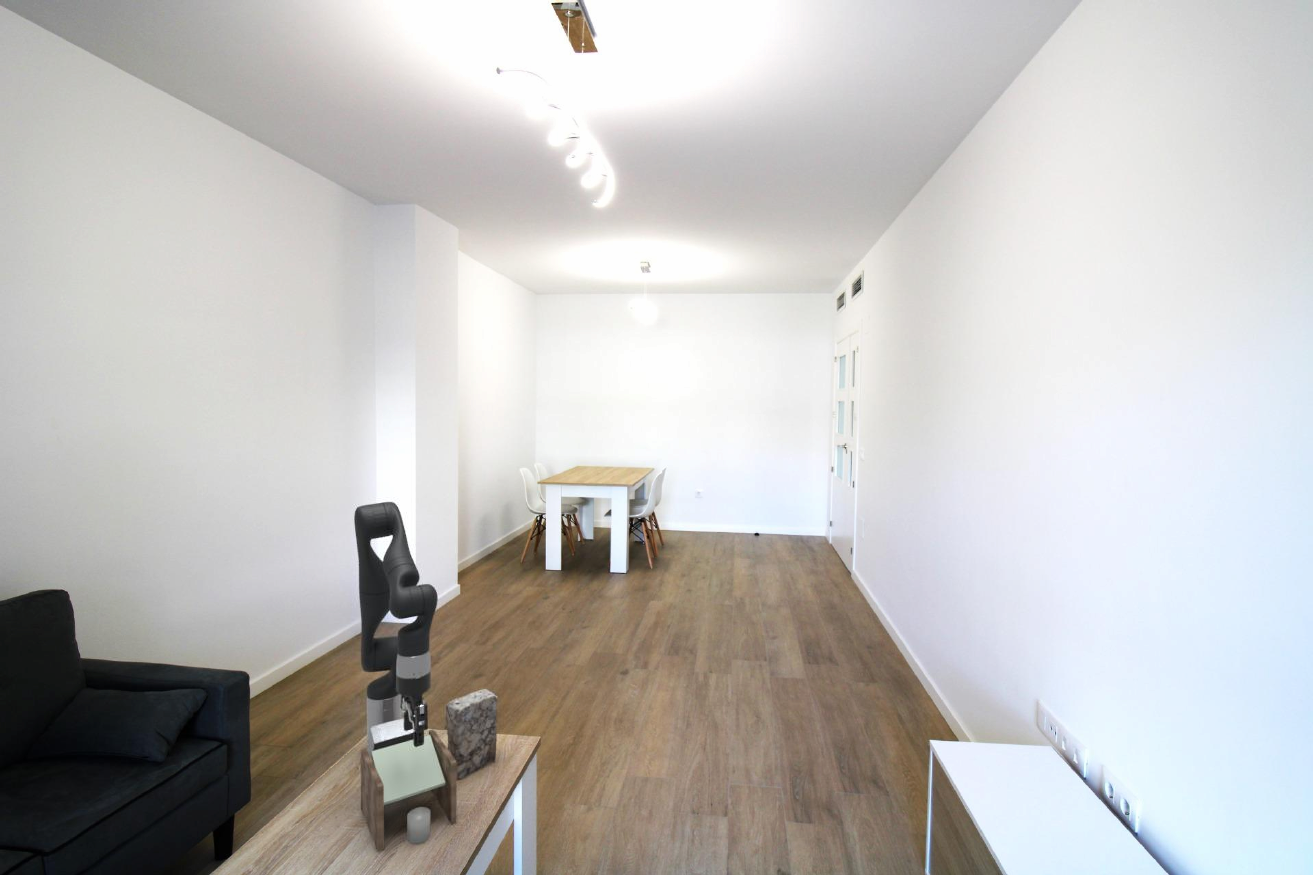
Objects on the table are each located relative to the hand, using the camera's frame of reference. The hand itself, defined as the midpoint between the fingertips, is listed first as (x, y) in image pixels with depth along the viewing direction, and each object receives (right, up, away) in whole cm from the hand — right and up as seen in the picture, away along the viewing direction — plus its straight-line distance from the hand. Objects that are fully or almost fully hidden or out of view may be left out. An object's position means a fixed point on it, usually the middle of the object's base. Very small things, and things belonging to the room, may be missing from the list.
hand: (413, 737), depth 148 cm
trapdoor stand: (-3, -21, +4) cm, 22 cm away
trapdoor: (-6, -10, +8) cm, 14 cm away
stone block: (+6, -21, +26) cm, 34 cm away
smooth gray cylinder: (+2, -16, -3) cm, 17 cm away
